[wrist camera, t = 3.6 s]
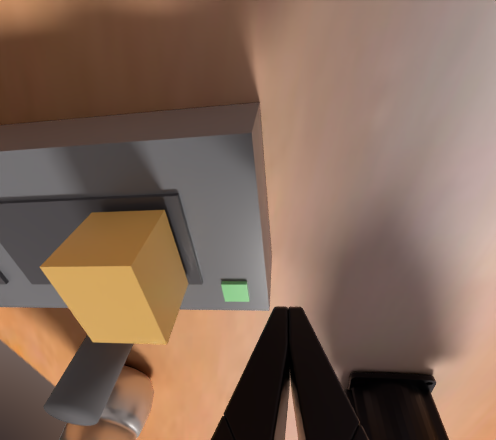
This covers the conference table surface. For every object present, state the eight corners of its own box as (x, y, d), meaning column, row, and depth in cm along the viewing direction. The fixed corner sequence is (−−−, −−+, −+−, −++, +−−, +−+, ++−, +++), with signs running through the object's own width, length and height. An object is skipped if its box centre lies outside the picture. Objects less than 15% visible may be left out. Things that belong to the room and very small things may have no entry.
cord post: (136, 301, 22) (84, 403, 16) (149, 327, 24) (106, 427, 18) (97, 301, 22) (33, 400, 17) (112, 326, 24) (59, 423, 18)
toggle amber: (164, 209, 11) (130, 266, 8) (188, 283, 13) (166, 344, 11) (91, 212, 11) (39, 266, 9) (126, 283, 14) (93, 342, 11)
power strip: (259, 102, 13) (250, 134, 9) (272, 256, 18) (269, 313, 14) (-154, 138, 16) (-273, 172, 12) (-43, 260, 21) (-105, 308, 18)
